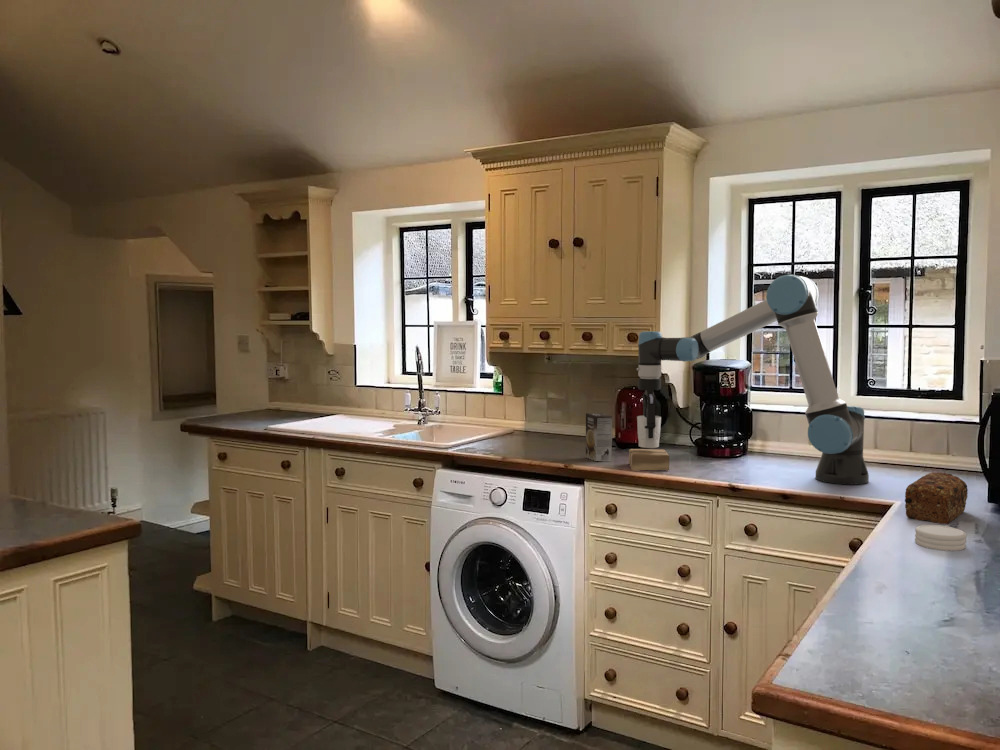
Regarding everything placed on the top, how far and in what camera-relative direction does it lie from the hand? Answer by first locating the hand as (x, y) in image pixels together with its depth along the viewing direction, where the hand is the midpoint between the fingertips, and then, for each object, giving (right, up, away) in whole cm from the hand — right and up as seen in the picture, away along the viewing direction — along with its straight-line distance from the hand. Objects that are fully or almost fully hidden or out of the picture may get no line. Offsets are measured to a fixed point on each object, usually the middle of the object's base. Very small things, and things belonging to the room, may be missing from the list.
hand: (648, 445), depth 271 cm
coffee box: (-15, -6, +16) cm, 23 cm away
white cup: (0, 0, 0) cm, 0 cm away
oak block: (0, -7, +1) cm, 7 cm away
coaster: (+48, -14, -92) cm, 104 cm away
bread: (+61, -12, -65) cm, 90 cm away
